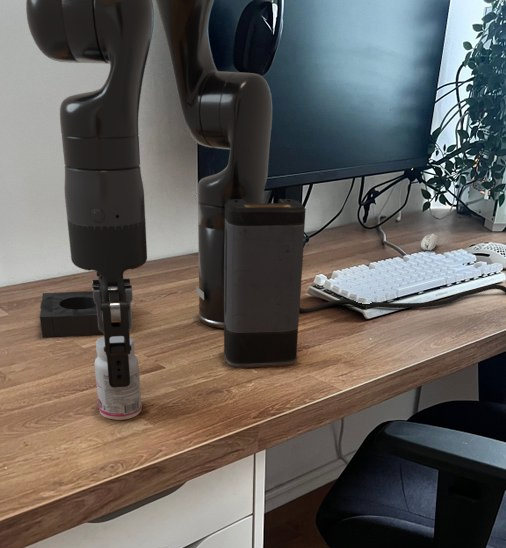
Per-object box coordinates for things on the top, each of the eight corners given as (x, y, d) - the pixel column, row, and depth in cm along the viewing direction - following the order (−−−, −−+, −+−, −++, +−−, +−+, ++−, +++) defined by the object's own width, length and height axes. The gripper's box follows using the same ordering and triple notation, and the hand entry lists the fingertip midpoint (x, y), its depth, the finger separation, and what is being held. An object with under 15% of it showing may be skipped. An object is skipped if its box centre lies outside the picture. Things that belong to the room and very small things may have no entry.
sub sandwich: (439, 245, 150) (441, 232, 149) (432, 253, 144) (434, 240, 143) (424, 243, 151) (426, 230, 150) (417, 251, 145) (419, 238, 144)
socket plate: (118, 308, 108) (116, 289, 107) (122, 333, 99) (121, 313, 97) (44, 311, 106) (42, 292, 105) (41, 337, 97) (38, 317, 95)
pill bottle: (101, 402, 80) (94, 333, 75) (142, 401, 80) (138, 333, 76) (96, 421, 76) (89, 349, 71) (140, 420, 76) (136, 349, 72)
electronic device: (288, 349, 95) (297, 198, 85) (298, 366, 90) (309, 207, 80) (222, 352, 94) (223, 198, 84) (228, 369, 89) (230, 208, 79)
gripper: (152, 230, 62) (159, 401, 70) (139, 201, 74) (146, 350, 82) (66, 231, 60) (84, 406, 69) (67, 202, 72) (82, 353, 81)
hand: (118, 375), depth 76 cm, fingers closed on pill bottle, 4 cm apart
